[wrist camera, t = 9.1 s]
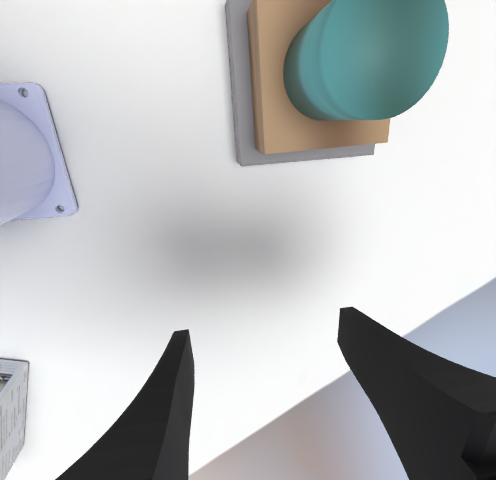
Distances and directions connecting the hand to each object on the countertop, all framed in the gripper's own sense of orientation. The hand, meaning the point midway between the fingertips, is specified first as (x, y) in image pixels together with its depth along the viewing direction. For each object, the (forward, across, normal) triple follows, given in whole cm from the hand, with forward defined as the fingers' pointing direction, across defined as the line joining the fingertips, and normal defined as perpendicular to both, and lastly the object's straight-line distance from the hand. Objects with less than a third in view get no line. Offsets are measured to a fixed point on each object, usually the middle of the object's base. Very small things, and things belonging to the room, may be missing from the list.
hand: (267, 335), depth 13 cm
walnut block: (+8, -5, -11) cm, 15 cm away
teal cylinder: (+5, -4, -11) cm, 13 cm away
